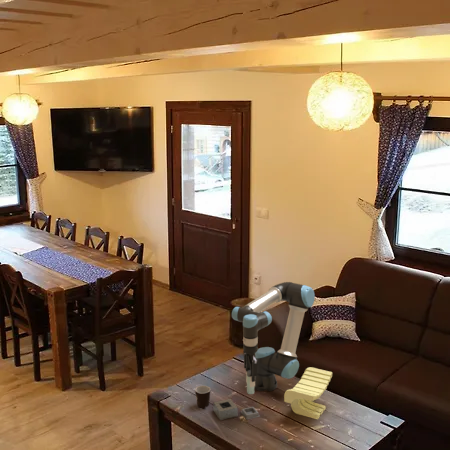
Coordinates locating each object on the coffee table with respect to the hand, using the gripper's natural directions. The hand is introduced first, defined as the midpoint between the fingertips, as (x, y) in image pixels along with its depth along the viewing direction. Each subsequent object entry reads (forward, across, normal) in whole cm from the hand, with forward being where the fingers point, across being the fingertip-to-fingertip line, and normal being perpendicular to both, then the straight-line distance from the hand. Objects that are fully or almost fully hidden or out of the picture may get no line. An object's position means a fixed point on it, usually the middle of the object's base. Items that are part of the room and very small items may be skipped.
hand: (250, 384), depth 303 cm
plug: (+5, 0, 0) cm, 5 cm away
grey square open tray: (+19, 0, -1) cm, 19 cm away
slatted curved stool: (+19, +7, +31) cm, 37 cm away
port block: (+18, -6, -13) cm, 23 cm away
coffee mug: (+19, -21, -20) cm, 34 cm away
